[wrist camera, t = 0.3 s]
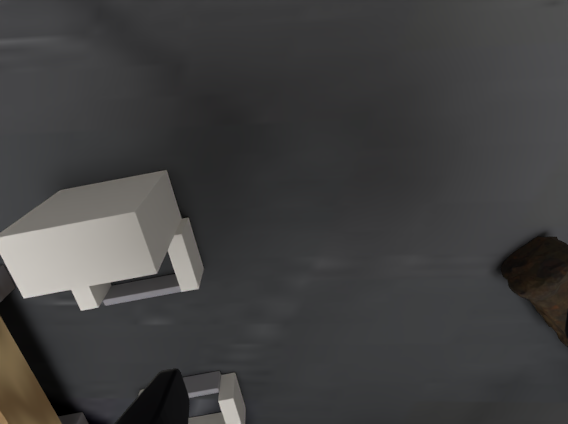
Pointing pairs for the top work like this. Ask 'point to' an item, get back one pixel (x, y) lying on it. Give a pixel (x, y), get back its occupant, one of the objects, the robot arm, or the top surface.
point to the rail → (22, 381)
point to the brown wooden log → (542, 279)
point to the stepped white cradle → (115, 258)
